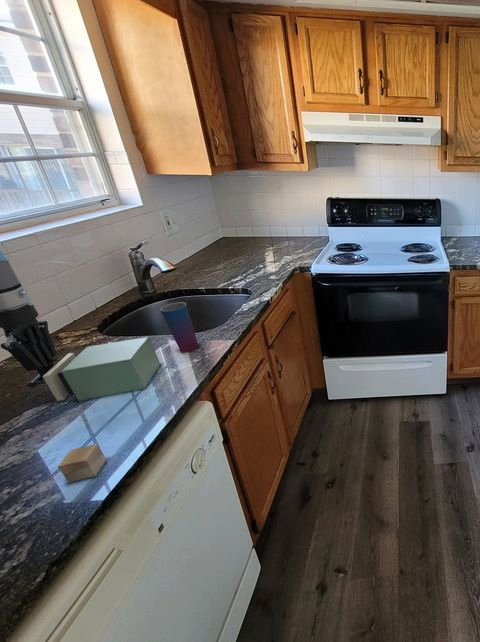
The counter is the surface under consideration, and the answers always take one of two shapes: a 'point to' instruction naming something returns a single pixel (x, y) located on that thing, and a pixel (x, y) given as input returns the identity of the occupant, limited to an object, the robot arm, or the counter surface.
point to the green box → (112, 368)
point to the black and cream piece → (56, 379)
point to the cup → (180, 325)
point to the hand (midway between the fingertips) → (56, 385)
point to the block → (82, 463)
